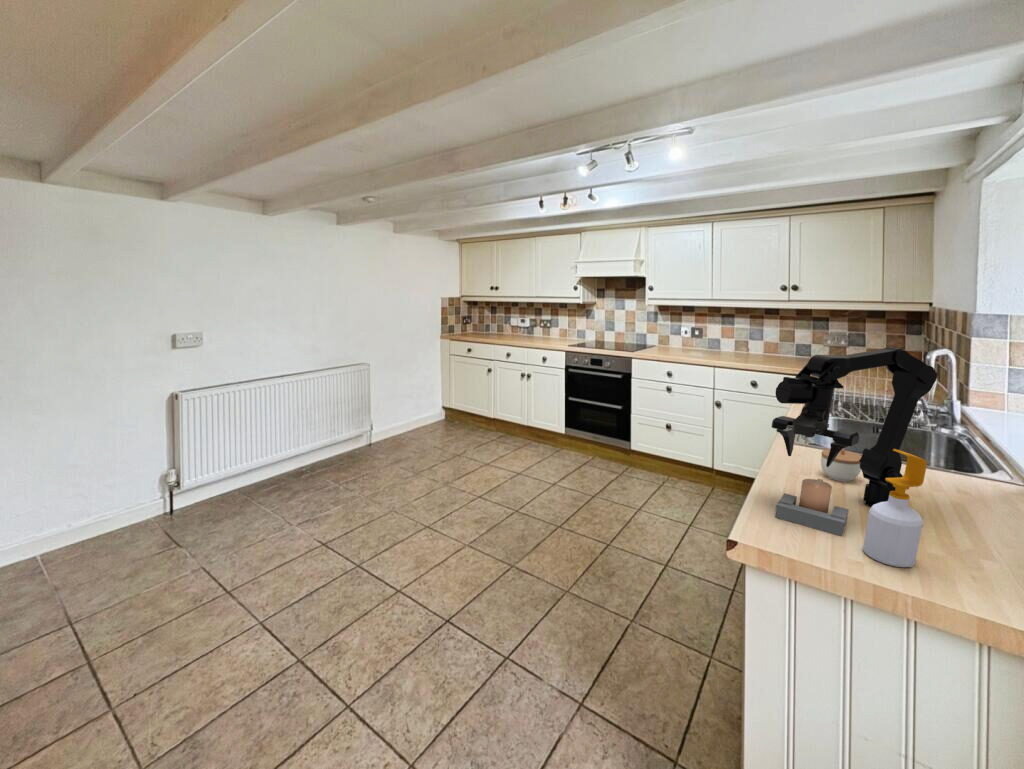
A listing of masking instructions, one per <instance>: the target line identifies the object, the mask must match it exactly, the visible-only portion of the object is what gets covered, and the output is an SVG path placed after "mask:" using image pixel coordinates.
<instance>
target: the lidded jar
mask: <svg viewBox="0 0 1024 769" xmlns="http://www.w3.org/2000/svg"><path fill="white" fill-rule="evenodd" d="M830 449H831V448H826V449H823V450H822V451H821V456H820V457H821V458H820V465H821V469H822V471H823V473H824V474H826V476H828V477H829V479H830V478H831V479H830V480H832V479H833V481H836V480H837V482H840V481H841V483H848V482H851V480H854V479H855V478H857V477H858V476H859V475H860V472H862V470H861V468H860V462H859V460H860V459H861V457H862V455H860V454H858V453H856V452H852V451H848V450H846V449H845V448H843V449H842V450H841V451H840V452H839V453H838V455H837V456H836V458H835V459H834V460H833V462H832V463H831V465H830V466H829V467H826V464H827V459H828V456H829V452H830ZM828 477H827V478H828Z"/></svg>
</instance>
